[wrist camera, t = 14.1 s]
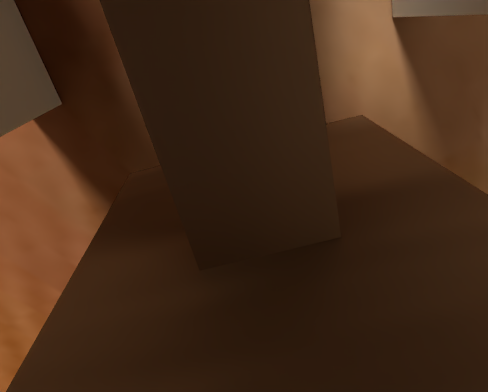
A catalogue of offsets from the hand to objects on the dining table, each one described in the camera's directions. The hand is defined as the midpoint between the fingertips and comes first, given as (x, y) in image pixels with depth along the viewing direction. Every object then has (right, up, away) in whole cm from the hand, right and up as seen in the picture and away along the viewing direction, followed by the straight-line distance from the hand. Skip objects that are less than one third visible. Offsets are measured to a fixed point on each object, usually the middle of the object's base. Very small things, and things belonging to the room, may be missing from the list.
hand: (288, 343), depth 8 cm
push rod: (-4, +14, -5) cm, 15 cm away
